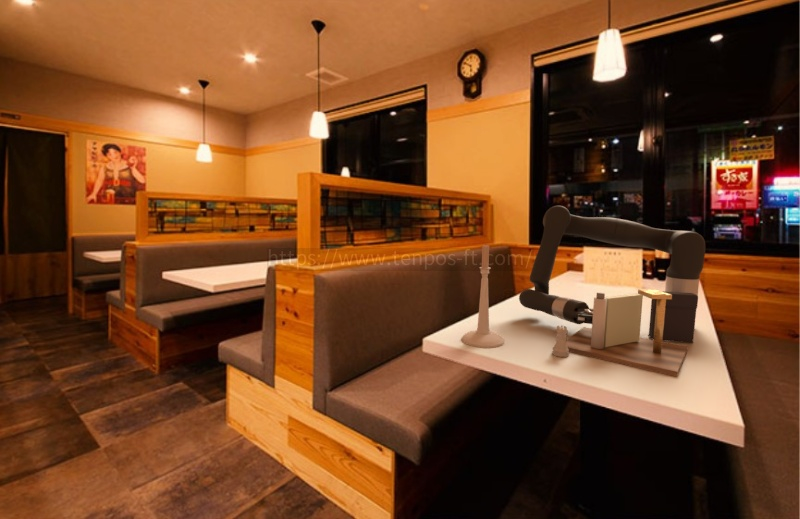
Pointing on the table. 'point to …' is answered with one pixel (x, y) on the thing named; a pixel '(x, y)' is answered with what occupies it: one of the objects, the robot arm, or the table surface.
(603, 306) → the hinge
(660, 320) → the plate
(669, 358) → the board
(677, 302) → the dark brown flat block
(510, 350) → the table surface
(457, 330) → the table surface
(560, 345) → the rook chess piece
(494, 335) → the candlestick
